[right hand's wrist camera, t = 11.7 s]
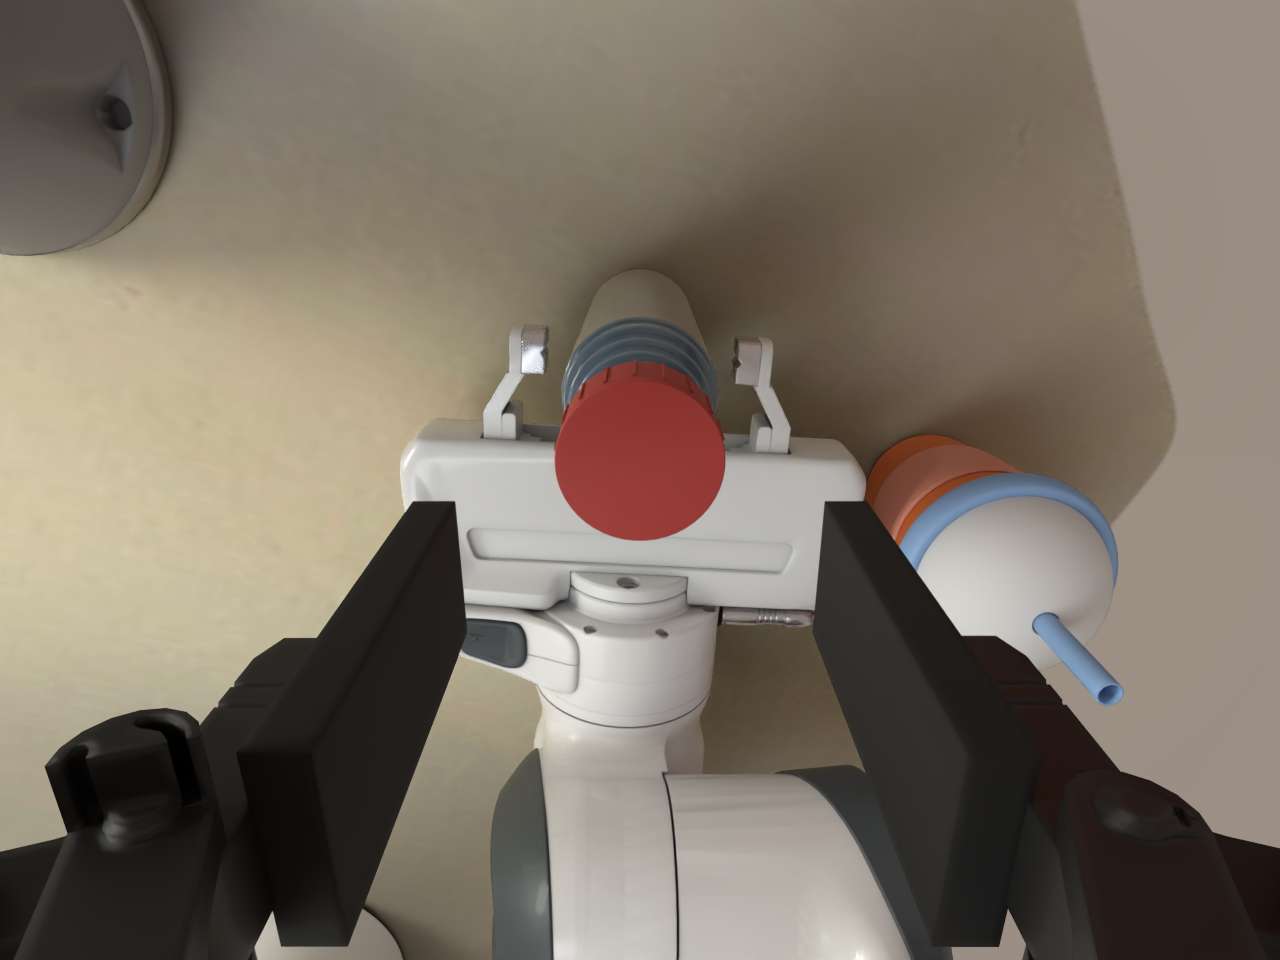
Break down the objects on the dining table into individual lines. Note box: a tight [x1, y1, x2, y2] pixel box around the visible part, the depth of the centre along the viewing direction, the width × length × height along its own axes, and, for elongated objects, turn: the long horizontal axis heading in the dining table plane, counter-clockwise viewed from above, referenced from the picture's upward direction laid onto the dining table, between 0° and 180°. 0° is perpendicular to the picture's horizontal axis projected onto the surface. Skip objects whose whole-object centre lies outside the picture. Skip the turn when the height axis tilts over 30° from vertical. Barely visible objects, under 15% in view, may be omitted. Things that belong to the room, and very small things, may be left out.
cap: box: [554, 360, 726, 541], centre depth 21 cm, size 4×4×2 cm
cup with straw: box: [865, 435, 1124, 706], centre depth 33 cm, size 9×9×18 cm
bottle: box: [562, 269, 718, 417], centre depth 29 cm, size 5×5×20 cm
